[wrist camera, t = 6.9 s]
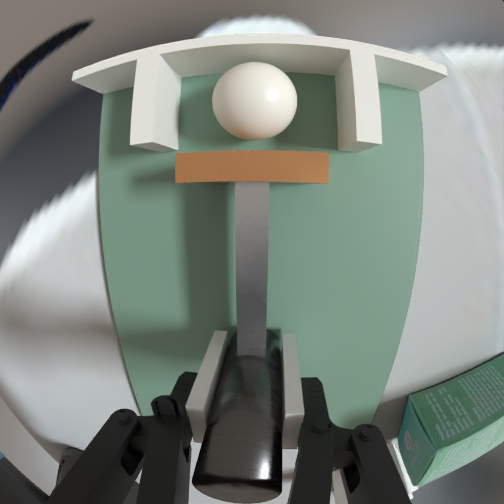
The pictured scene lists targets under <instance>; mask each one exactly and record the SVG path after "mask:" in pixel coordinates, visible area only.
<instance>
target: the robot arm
mask: <svg viewBox="0 0 504 504" xmlns="http://www.w3.org/2000/svg"><path fill="white" fill-rule="evenodd" d="M227 351H228V337H227V331H217V330H215V331H214V334H213V336H212V339H211V341H210V344H209V347H208V349H207V352H206V354H205V357H204V359H203V362H202V365H201V367H200V370H199V372H198V373H196V372H188V371H185V372H184V373H182V374H181V375H180V376H179V377H178V379H177V381H176V384H175V386H174V388H173V390H172V392H171V394H170V395H161V396H158V397H156V398H154V399H153V400H152V402H151V403H150V404H151V408H152V411H153V414H154V415H151V416H137V415H136V413H135V412H134V411H132V410H130V409H119V410H117V411H115V412H114V413H113V414H112V415H111V416H110V417H109V419H108V420H107V421H106V423H105V424H104V425H103V427H102V428H101V429H100V431H99V432H98V433H97V434H96V436H95V437H94V438H93V440H92V441H91V442H90V444H89V445H88V446H87V448H86V449H85V450H84V452H83V451H80V450H77V449H73V448H67V449H66V450H65V452H64V453H63V455H62V456H61V458H60V464H59V469H58V475H57V481H56V486H55V488H54V490H53V491H52V493H51V495H50V496H48V495H47V494H45V492H43V491H42V490H41V489H40V488H39V487H37V486H36V485H35V484H34V483H33V482H31V481H30V480H29V479H28V478H27V477H26V476H25V475H23V474H22V473H21V472H20V471H19V470H18V469H17V468H16V467H15V466H14V465H13V464H12V463H11V462H10V461H9V460H8V459H7V458H6V457H5V455H4V454H3V453H2V452H0V504H188V500H189V480H190V464H191V445H190V443H191V439H192V436H193V440H194V442H197V443H202V442H203V438H204V434H205V431H206V427H207V424H208V420H209V416H210V413H211V409H212V405H213V402H214V398H215V395H216V391H217V387H218V384H219V380H220V376H221V373H222V369H223V365H224V362H225V358H226V354H227ZM281 386H282V449H297V446H298V455H297V459H296V463H295V464H296V465H295V470H294V475H293V480H292V485H291V489H290V494H289V498H288V503H287V504H329V503H330V493H331V483H332V471H333V467H338V468H339V470H340V474H341V478H342V482H343V486H344V489H345V493H346V497H347V501H348V504H412V503H411V501H410V498H409V496H408V493H407V491H406V488H405V486H404V484H403V481H402V479H401V476H400V474H399V472H398V469H397V467H396V465H395V462H394V460H393V458H392V456H391V453H390V451H389V449H388V446H387V444H386V442H385V440H384V438H383V435H382V433H381V431H380V430H379V428H378V427H376V426H374V425H372V424H361V425H358V426H357V427H355V428H354V429H347V428H342V427H339V426H336V425H335V424H334V423H333V422H332V421H331V420H330V418H329V413H328V408H327V403H326V398H325V394H324V389H323V384H322V382H321V381H320V380H319V379H318V378H317V377H300V369H299V360H298V352H297V344H296V336H295V333H282V347H281ZM141 470H142V473H141V478H140V484H139V485H138V484H137V483H136V482H135V480H136V479H137V477H138V475H139V473H140V471H141Z"/></svg>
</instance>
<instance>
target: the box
mask: <svg viewBox="0 0 504 504" xmlns="http://www.w3.org/2000/svg"><path fill="white" fill-rule="evenodd" d="M503 441H504V354H502V355H500V356H498V357H496V358H494V359H492V360H490V361H488V362H486V363H484V364H482V365H480V366H478V367H476V368H474V369H472V370H470V371H468V372H466V373H464V374H462V375H460V376H457V377H455V378H453V379H451V380H448V381H446V382H443V383H441V384H438V385H436V386H433V387H431V388H428V389H425V390H422V391H419V392H417V393H414V394H410V395H409V397H408V402H407V406H406V410H405V414H404V418H403V422H402V425H401V429H400V432H399V435H398V445H399V450H400V454H401V457H402V460H403V463H404V466H405V468H406V471H407V473H408V475H409V478H410V480H411V483H412V485H413V486H420V485H423V484H425V483H427V482H430V481H432V480H435V479H437V478H439V477H441V476H444V475H446V474H448V473H450V472H452V471H454V470H456V469H458V468H460V467H462V466H464V465H465V464H467V463H469V462H471V461H473V460H475V459H476V458H478V457H480V456H481V455H483V454H485V453H486V452H488V451H489V450H491V449H493V448H494V447H496V446H497V445H498V444H500V443H501V442H503Z"/></svg>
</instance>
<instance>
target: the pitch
mask: <svg viewBox="0 0 504 504" xmlns="http://www.w3.org/2000/svg"><path fill="white" fill-rule="evenodd" d="M247 62H262V63H267V64H270V65H272V66H275V67H276V68H278V69H280V70H281V71H282V72H284V73H285V74H286V75H287V76H288V77H289V79H290V80H291V82H292V83H293V85H294V87H295V90H296V94H297V109H296V112H295V115H294V117H293V119H292V121H291V123H290V124H289V125H288V126H287V127H286V128H285V129H284V130H283V131H282V132H281V133H279V134H277V135H276V136H273V137H271V138H268V139H264V140H256V141H254V140H245V139H241V138H239V137H236V136H234V135H232V134H231V133H229V132H228V131H227V130H225V129H224V128H223V127H222V126H221V125H220V123H219V122H218V120H217V118H216V116H215V114H214V111H213V106H212V96H213V91H214V88H215V86H216V84H217V82H218V80H219V79H220V78H221V77H222V75H223V74H225V73H226V72H227V71H228V70H229V69H231V68H233V67H235V66H237V65H239V64H242V63H247ZM447 76H448V75H447V70H446V66H443V65H441V64H438V63H435V62H433V61H430V60H427V59H424V58H421V57H418V56H415V55H411V54H408V53H405V52H401V51H397V50H394V49H390V48H386V47H381V46H377V45H372V44H367V43H362V42H357V41H351V40H345V39H339V38H331V37H322V36H312V35H299V34H236V35H223V36H212V37H204V38H196V39H189V40H183V41H178V42H172V43H167V44H162V45H158V46H153V47H148V48H144V49H140V50H137V51H133V52H129V53H126V54H122V55H119V56H116V57H113V58H109V59H107V60H103V61H101V62H98V63H95V64H92V65H90V66H87V67H84V68H82V69H80V70H77V71H74V72H73V77H72V81H74V82H76V83H79V84H81V85H83V86H86V87H88V88H90V89H93V90H95V91H97V92H99V93H102V94H103V102H102V112H101V113H102V114H101V124H100V143H99V204H100V221H101V234H102V244H103V253H104V261H105V269H106V276H107V282H108V288H109V294H110V300H111V305H112V310H113V315H114V320H115V325H116V329H117V333H118V338H119V342H120V346H121V350H122V353H123V357H124V361H125V364H126V368H127V371H128V375H129V378H130V381H131V384H132V388H133V391H134V394H135V397H136V400H137V402H138V405H139V408H140V411H141V414H142V416H151V415H154V414H153V411H152V408H151V404H150V403H151V402H152V400H153V399H154V398H156V397H158V396H161V395H170V394H171V392H172V390H173V388H174V386H175V384H176V381H177V379H178V377H179V376H180V375H181V374H182V373H184V372H185V371H188V372H196V373H198V372H199V370H200V367H201V365H202V362H203V359H204V357H205V354H206V352H207V349H208V347H209V344H210V341H211V339H212V336H213V334H214V331H215V330H217V331H227V337H228V347H229V344H230V340H231V338H232V336H233V335H234V334H235V333H236V332H237V318H236V251H235V182H229V183H175V154H176V153H190V152H207V151H236V150H277V151H306V152H323V153H329V183H328V184H303V183H269V252H268V295H267V329H269V330H270V331H272V332H273V333H274V334H275V335H276V336H277V337H278V339H279V342H280V347H282V333H295V336H296V344H297V352H298V360H299V369H300V377H317V378H318V379H319V380H320V381H321V382H322V384H323V389H324V394H325V398H326V403H327V408H328V413H329V418H330V420H331V421H332V422H333V423H334V424H335V425H336V426H339V427H342V428H347V429H354V428H355V427H357V426H358V425H361V424H371V422H372V419H373V417H374V415H375V412H376V410H377V407H378V405H379V402H380V400H381V397H382V394H383V392H384V389H385V386H386V384H387V381H388V378H389V375H390V372H391V369H392V366H393V363H394V360H395V356H396V353H397V350H398V346H399V343H400V339H401V336H402V332H403V328H404V324H405V320H406V316H407V312H408V307H409V302H410V298H411V293H412V288H413V282H414V277H415V271H416V264H417V257H418V250H419V242H420V233H421V222H422V209H423V188H424V150H423V129H422V116H421V106H420V97H419V92H420V91H422V90H423V89H425V88H427V87H429V86H430V85H432V84H434V83H436V82H438V81H439V80H441V79H443V78H445V77H447Z"/></svg>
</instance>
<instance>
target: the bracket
mask: <svg viewBox="0 0 504 504" xmlns="http://www.w3.org/2000/svg"><path fill="white" fill-rule="evenodd" d="M386 444H387V446H388V449H389V451H390V453H391V456H392V458H393V460H394V462H395V465H396V467H397V469H398V472H399V474H400V476H401V479H402V481H403V484H404V486H405V488H406V491H407V493H408V496H409V498H410V499H412V498H413V495H412V492H413V491H415V490H417V489H418V487H417V486H413V485H412V483H411V480H410V478H409V475H408V473H407V471H406V468H405V466H404V463H403V460H402V457H401V455H400V453H399V452H398V450H397V449H396V447H395V446H394V444H393V443H392V441H390V442H388V443H386ZM332 479H333V487H334V495H335V503H336V504H348V501H347V497H346V493H345V489H344V486H343V482H342V478H341V474H340V470H336V471H334V472H332Z"/></svg>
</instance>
